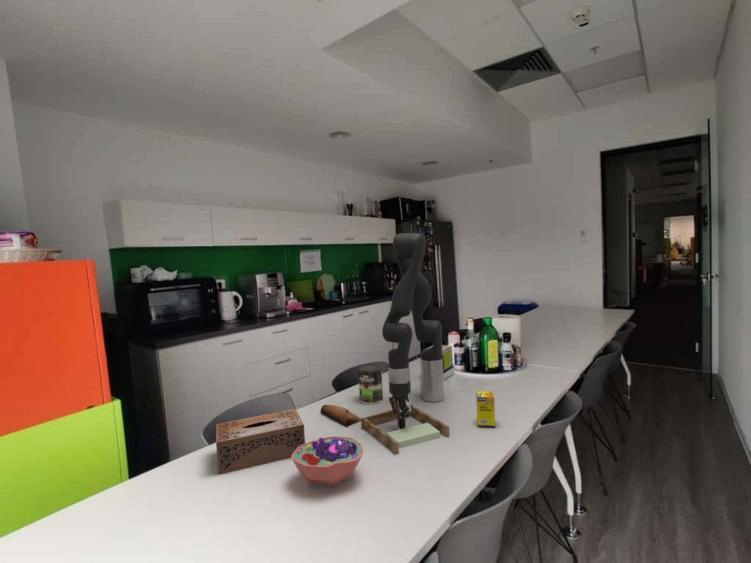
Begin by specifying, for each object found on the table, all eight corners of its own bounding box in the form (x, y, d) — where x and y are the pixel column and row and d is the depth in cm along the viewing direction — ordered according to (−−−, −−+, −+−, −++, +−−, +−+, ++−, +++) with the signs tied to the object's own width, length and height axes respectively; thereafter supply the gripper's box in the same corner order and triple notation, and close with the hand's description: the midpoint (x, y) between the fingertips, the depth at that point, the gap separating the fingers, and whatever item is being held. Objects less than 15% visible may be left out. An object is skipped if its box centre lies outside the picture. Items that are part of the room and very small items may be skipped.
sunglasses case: (364, 419, 149) (356, 407, 147) (352, 434, 146) (344, 422, 143) (337, 407, 163) (329, 396, 160) (325, 420, 159) (317, 409, 157)
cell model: (301, 464, 120) (298, 427, 119) (366, 462, 119) (364, 425, 118) (286, 498, 103) (283, 456, 102) (363, 496, 102) (361, 454, 101)
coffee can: (378, 405, 163) (376, 372, 162) (355, 403, 167) (353, 370, 166) (387, 396, 172) (385, 365, 171) (365, 394, 176) (363, 363, 175)
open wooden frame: (361, 427, 142) (360, 418, 142) (412, 413, 153) (411, 404, 153) (394, 454, 122) (394, 443, 122) (450, 435, 133) (450, 425, 133)
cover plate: (386, 439, 133) (386, 432, 133) (428, 429, 140) (427, 422, 139) (397, 450, 126) (396, 442, 126) (440, 438, 132) (439, 431, 132)
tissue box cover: (218, 475, 116) (216, 442, 115) (218, 453, 130) (216, 424, 129) (305, 455, 126) (303, 424, 125) (297, 436, 139) (295, 408, 138)
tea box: (436, 371, 204) (434, 343, 203) (454, 374, 198) (453, 345, 197) (421, 380, 192) (420, 350, 191) (440, 383, 186) (439, 352, 185)
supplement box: (495, 428, 137) (494, 397, 136) (477, 427, 138) (476, 396, 137) (494, 420, 143) (493, 391, 142) (476, 420, 144) (475, 390, 143)
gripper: (380, 376, 142) (383, 423, 143) (400, 386, 130) (402, 437, 131) (398, 372, 145) (400, 418, 146) (419, 382, 133) (421, 432, 135)
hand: (401, 427), depth 139 cm, fingers closed
